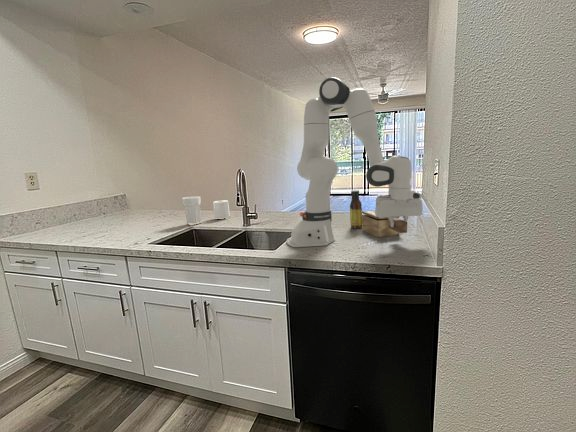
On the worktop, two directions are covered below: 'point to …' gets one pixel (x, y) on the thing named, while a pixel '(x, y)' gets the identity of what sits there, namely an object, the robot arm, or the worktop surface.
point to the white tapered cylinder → (221, 209)
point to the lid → (372, 214)
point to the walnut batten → (399, 225)
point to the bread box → (377, 227)
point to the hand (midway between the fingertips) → (398, 226)
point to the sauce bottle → (355, 210)
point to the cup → (192, 209)
